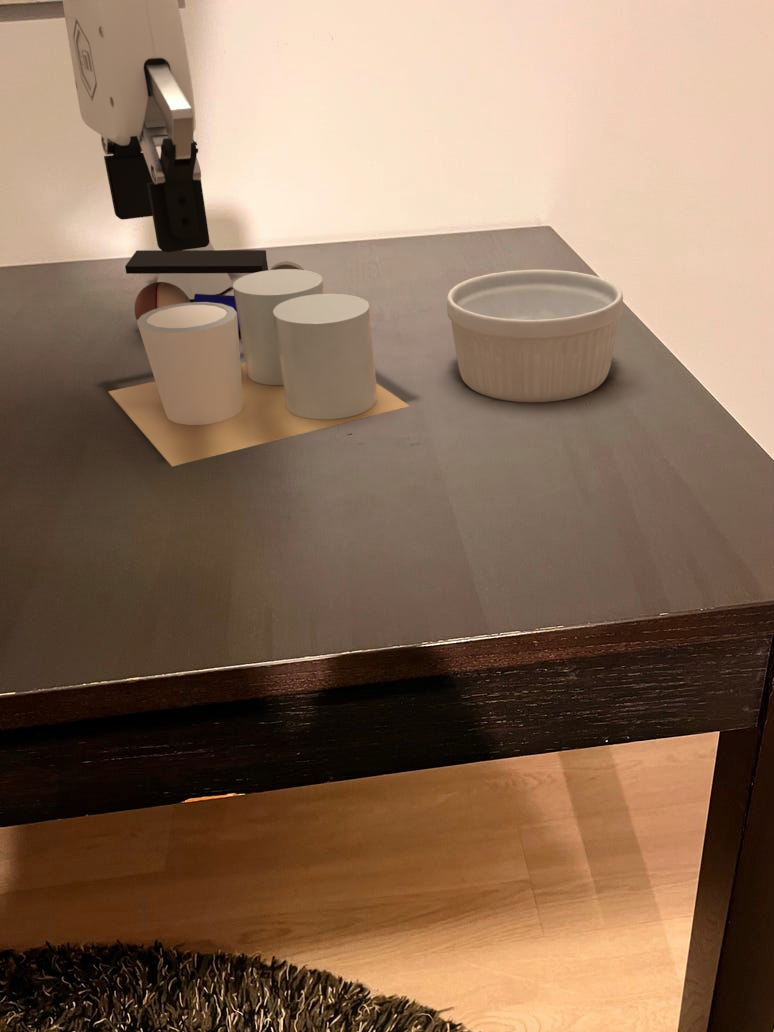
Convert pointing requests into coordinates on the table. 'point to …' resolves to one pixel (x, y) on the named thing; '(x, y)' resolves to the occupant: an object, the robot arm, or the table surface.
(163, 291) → the figurine character
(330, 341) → the white front cylinder
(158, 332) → the white tapered cup
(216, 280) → the flask
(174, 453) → the board
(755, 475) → the table surface
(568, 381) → the ramekin
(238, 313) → the white tall rear cylinder
